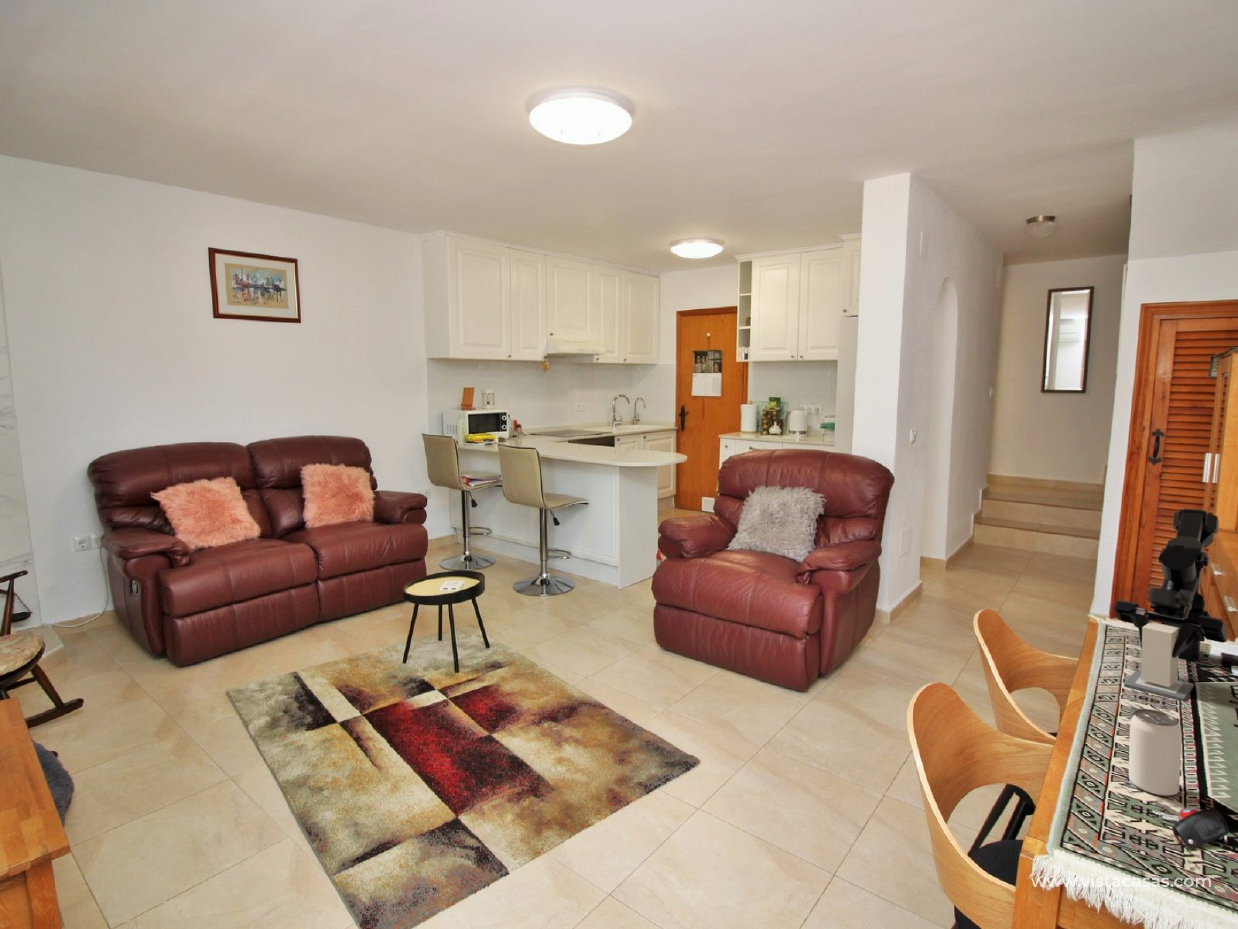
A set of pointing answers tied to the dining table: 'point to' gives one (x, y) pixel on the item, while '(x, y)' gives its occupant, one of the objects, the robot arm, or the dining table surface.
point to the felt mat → (1160, 687)
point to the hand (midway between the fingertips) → (1157, 653)
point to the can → (1155, 752)
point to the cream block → (1159, 654)
